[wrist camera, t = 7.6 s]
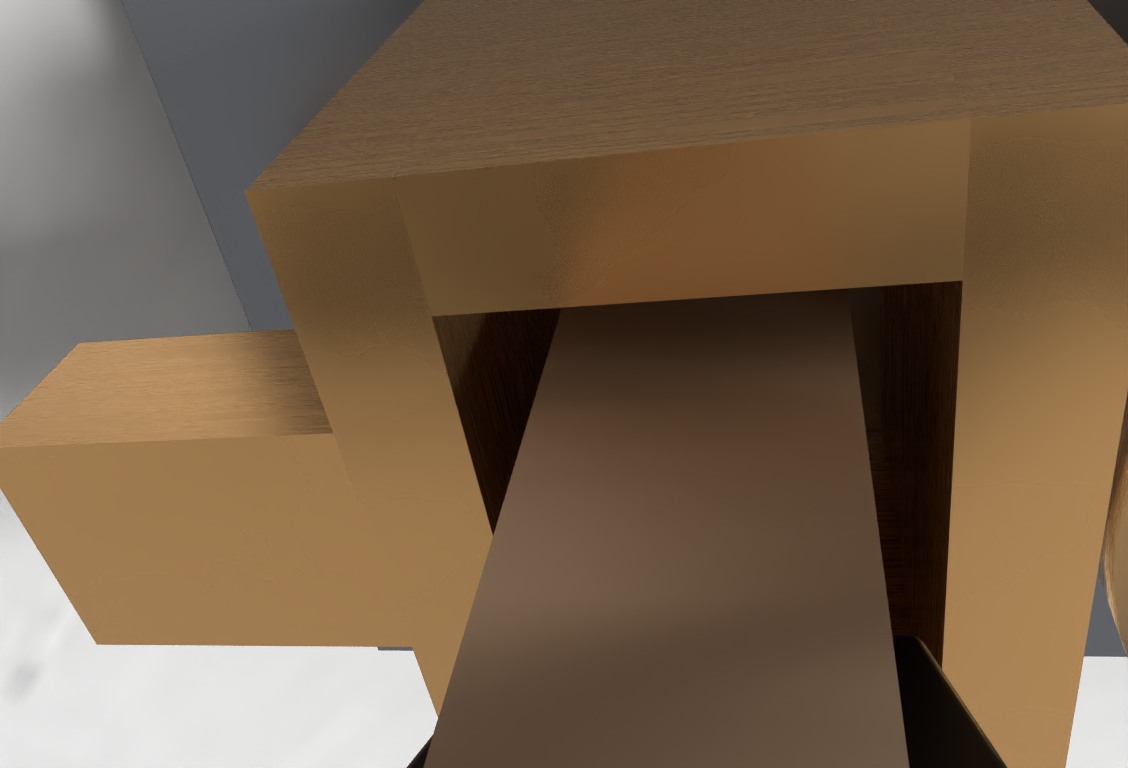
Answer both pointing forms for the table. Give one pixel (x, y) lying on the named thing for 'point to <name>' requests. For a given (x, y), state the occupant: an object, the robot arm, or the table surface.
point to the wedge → (685, 553)
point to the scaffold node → (611, 276)
